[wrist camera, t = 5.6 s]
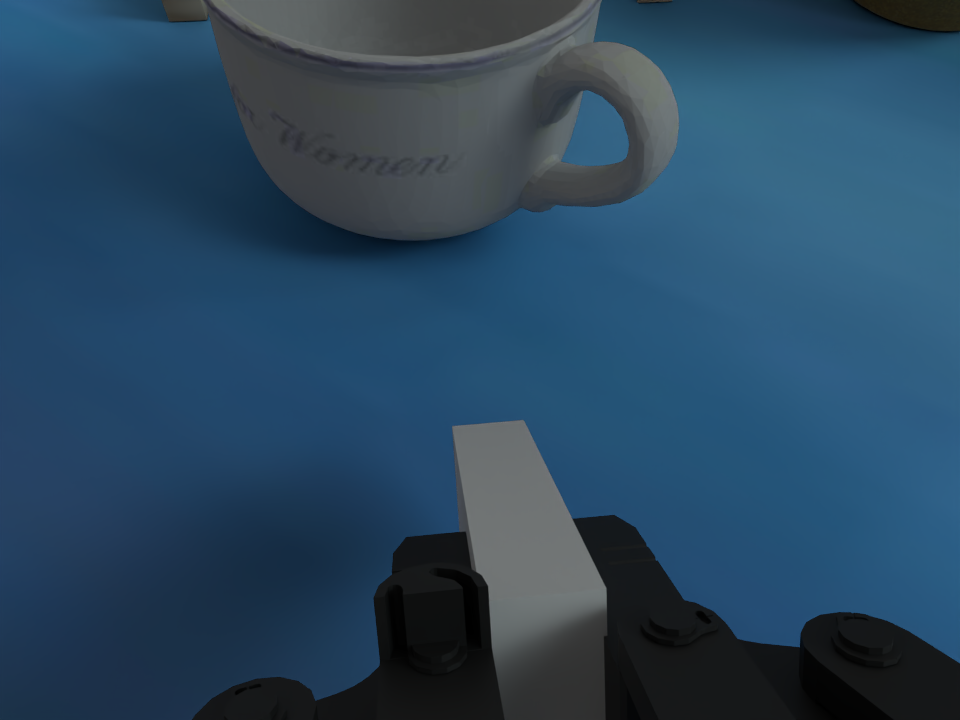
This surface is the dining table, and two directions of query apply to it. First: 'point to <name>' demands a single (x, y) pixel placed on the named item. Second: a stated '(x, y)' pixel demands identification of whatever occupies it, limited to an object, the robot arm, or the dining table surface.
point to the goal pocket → (189, 6)
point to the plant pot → (918, 12)
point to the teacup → (436, 108)
